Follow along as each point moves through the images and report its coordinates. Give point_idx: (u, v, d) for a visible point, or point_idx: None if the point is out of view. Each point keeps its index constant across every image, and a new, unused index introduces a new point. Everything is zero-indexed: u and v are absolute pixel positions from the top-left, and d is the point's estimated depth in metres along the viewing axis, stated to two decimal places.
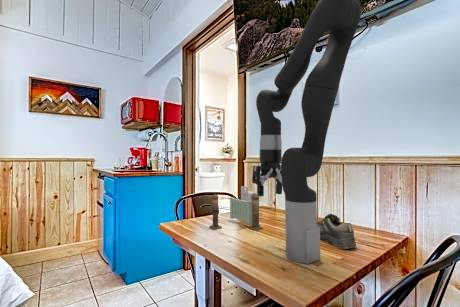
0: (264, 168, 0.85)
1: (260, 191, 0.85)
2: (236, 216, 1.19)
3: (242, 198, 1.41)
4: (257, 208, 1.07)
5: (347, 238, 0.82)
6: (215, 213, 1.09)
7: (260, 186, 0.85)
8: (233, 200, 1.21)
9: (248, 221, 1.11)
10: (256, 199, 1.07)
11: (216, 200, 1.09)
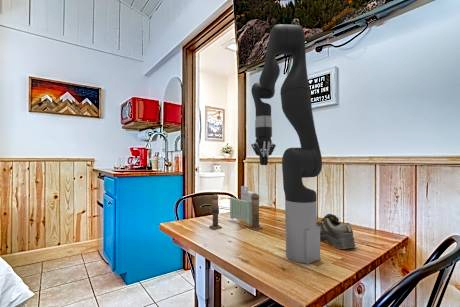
0: (259, 144, 1.12)
1: (262, 161, 1.13)
2: (236, 216, 1.19)
3: (242, 198, 1.41)
4: (257, 208, 1.07)
5: (347, 238, 0.82)
6: (215, 213, 1.09)
7: (262, 157, 1.13)
8: (233, 200, 1.21)
9: (248, 221, 1.11)
10: (256, 199, 1.07)
11: (216, 200, 1.09)
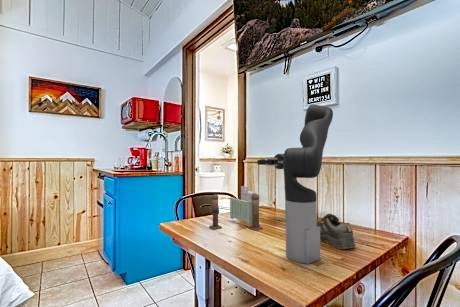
0: None
1: None
2: (236, 216, 1.19)
3: (242, 198, 1.41)
4: (257, 208, 1.07)
5: (347, 238, 0.82)
6: (215, 213, 1.09)
7: None
8: (233, 200, 1.21)
9: (248, 221, 1.11)
10: (256, 199, 1.07)
11: (216, 200, 1.09)
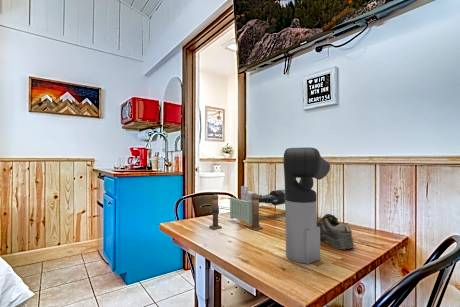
0: None
1: None
2: (236, 216, 1.19)
3: (242, 198, 1.41)
4: (257, 208, 1.07)
5: (345, 239, 0.82)
6: (215, 213, 1.09)
7: None
8: (233, 200, 1.21)
9: (248, 221, 1.11)
10: (256, 199, 1.07)
11: (216, 200, 1.09)
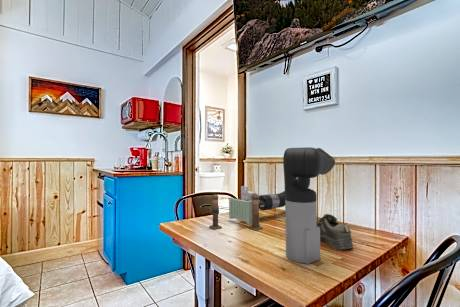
0: None
1: None
2: (235, 216, 1.18)
3: (242, 198, 1.41)
4: (257, 208, 1.07)
5: (344, 239, 0.82)
6: (215, 213, 1.09)
7: None
8: (232, 200, 1.20)
9: (248, 221, 1.11)
10: (256, 199, 1.07)
11: (216, 200, 1.09)
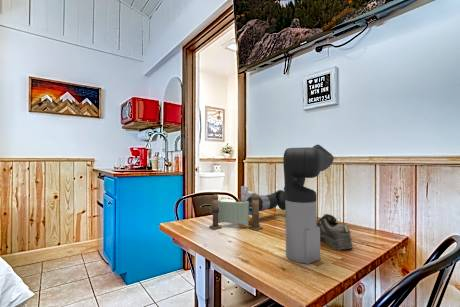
0: None
1: None
2: (226, 220, 1.12)
3: (242, 198, 1.41)
4: (257, 208, 1.07)
5: (344, 239, 0.82)
6: (215, 213, 1.09)
7: None
8: (221, 203, 1.13)
9: (246, 222, 1.09)
10: (256, 199, 1.07)
11: (216, 200, 1.09)
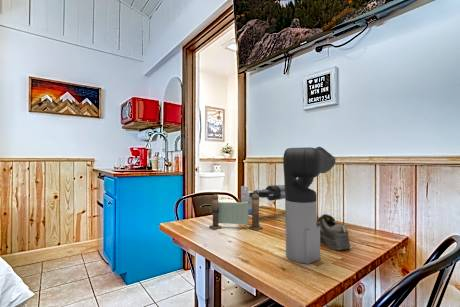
0: None
1: None
2: (225, 220, 1.10)
3: (242, 198, 1.41)
4: (257, 208, 1.07)
5: (341, 239, 0.81)
6: (215, 213, 1.09)
7: None
8: (220, 204, 1.11)
9: (246, 223, 1.08)
10: (256, 199, 1.07)
11: (216, 200, 1.09)
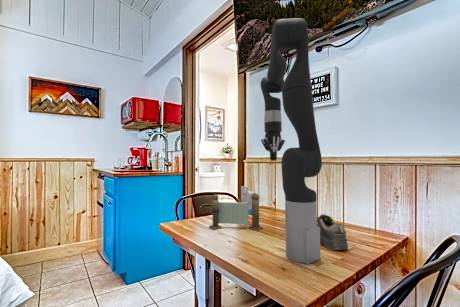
0: None
1: None
2: (225, 220, 1.10)
3: (242, 198, 1.41)
4: (257, 208, 1.07)
5: (339, 239, 0.81)
6: (215, 213, 1.09)
7: None
8: (220, 204, 1.11)
9: (246, 223, 1.08)
10: (256, 199, 1.07)
11: (216, 200, 1.09)
